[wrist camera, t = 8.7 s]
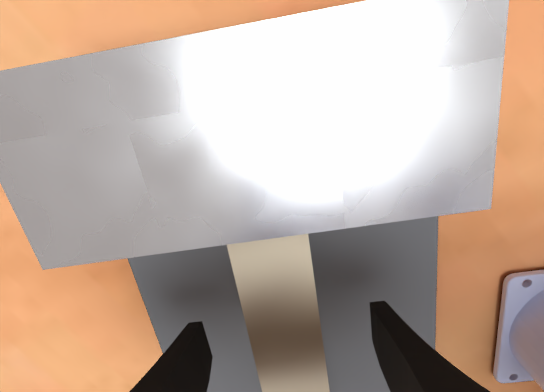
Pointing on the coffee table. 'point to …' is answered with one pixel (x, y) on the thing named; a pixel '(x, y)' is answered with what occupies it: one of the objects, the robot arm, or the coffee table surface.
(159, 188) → the grey rectangular block
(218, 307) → the board
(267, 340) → the slat
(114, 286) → the coffee table surface
